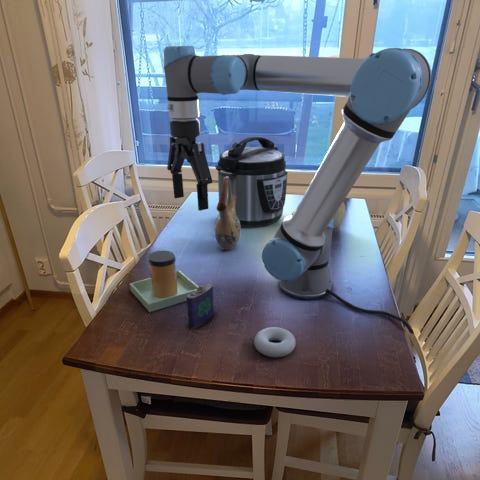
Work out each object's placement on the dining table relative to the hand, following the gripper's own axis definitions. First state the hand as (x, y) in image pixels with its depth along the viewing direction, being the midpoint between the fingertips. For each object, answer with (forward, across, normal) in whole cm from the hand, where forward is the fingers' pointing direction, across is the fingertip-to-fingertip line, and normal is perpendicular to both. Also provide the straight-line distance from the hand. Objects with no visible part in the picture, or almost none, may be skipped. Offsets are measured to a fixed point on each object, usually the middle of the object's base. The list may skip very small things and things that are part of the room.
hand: (190, 203), depth 117 cm
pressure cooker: (+24, -36, +48) cm, 65 cm away
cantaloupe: (+25, -9, +63) cm, 69 cm away
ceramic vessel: (+25, -16, +22) cm, 37 cm away
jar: (+24, +1, -11) cm, 26 cm away
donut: (+25, +40, -2) cm, 47 cm away
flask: (+25, +20, -10) cm, 33 cm away
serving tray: (+24, +1, -11) cm, 27 cm away
